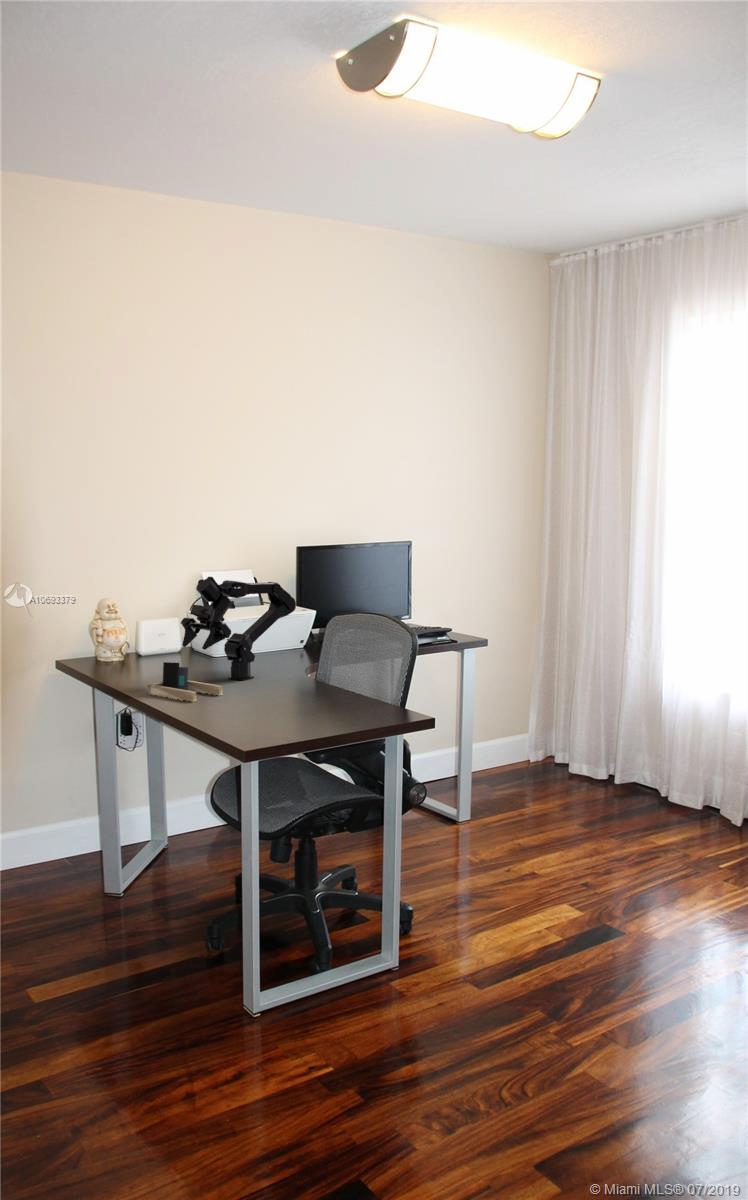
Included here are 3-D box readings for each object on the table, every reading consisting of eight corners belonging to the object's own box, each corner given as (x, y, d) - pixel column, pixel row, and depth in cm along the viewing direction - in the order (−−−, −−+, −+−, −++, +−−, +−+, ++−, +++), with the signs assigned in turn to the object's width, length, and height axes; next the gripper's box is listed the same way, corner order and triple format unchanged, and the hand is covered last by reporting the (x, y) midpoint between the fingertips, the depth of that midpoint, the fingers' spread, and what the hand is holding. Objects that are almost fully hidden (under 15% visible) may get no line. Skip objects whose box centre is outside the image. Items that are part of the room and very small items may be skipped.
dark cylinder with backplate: (175, 695, 309) (175, 663, 308) (161, 694, 312) (162, 662, 312) (191, 693, 315) (191, 661, 315) (178, 692, 318) (178, 661, 318)
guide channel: (177, 687, 323) (177, 678, 322) (222, 695, 311) (222, 685, 310) (147, 694, 312) (147, 684, 312) (192, 702, 300) (192, 692, 300)
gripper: (184, 593, 327) (160, 630, 320) (224, 597, 317) (200, 635, 309) (201, 614, 335) (178, 650, 327) (241, 618, 324) (218, 656, 316)
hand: (193, 647), depth 320 cm, fingers open, 9 cm apart
